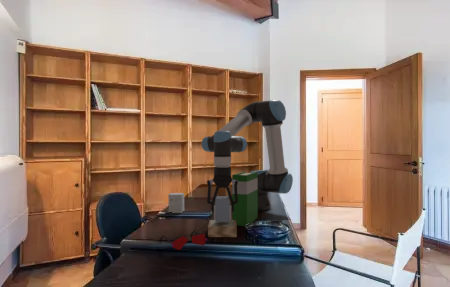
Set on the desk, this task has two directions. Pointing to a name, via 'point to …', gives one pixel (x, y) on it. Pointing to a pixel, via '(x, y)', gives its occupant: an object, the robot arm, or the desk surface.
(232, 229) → the plinth
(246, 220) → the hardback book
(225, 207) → the block
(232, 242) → the desk surface
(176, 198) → the small box
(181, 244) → the glasses
